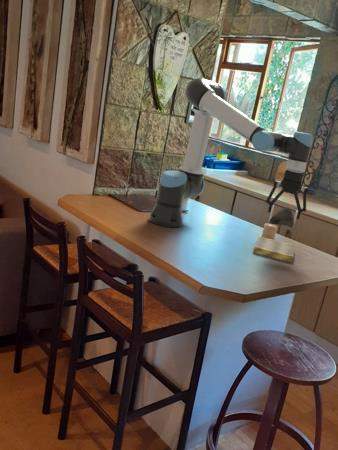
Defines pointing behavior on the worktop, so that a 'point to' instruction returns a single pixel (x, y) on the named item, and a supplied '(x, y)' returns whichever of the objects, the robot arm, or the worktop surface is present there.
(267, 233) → the peach rounded capsule
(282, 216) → the stone
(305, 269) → the worktop surface
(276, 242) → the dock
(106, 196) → the worktop surface
